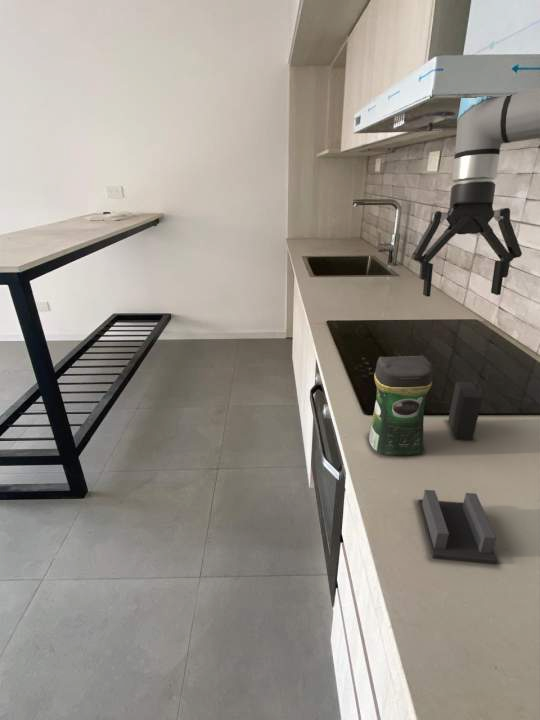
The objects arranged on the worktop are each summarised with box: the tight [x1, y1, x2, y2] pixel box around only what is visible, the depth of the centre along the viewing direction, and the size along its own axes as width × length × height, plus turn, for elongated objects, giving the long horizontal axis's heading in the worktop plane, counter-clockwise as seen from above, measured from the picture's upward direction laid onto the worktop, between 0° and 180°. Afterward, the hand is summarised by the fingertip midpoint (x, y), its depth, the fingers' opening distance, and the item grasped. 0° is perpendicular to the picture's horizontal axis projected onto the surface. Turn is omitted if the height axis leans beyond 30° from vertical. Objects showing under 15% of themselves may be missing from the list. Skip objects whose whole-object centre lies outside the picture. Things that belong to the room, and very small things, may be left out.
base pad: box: [417, 489, 497, 565], centre depth 57 cm, size 8×10×4 cm
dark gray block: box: [447, 380, 483, 441], centre depth 77 cm, size 3×6×10 cm, turn 172°
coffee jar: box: [368, 354, 433, 457], centre depth 72 cm, size 10×8×19 cm
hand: (460, 294), depth 81 cm, fingers open, 13 cm apart
